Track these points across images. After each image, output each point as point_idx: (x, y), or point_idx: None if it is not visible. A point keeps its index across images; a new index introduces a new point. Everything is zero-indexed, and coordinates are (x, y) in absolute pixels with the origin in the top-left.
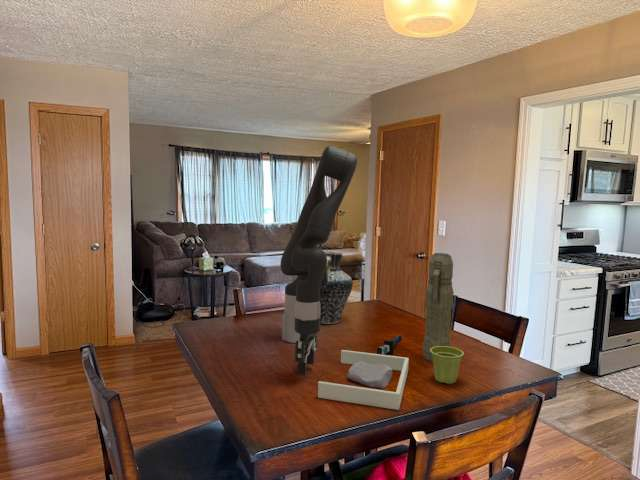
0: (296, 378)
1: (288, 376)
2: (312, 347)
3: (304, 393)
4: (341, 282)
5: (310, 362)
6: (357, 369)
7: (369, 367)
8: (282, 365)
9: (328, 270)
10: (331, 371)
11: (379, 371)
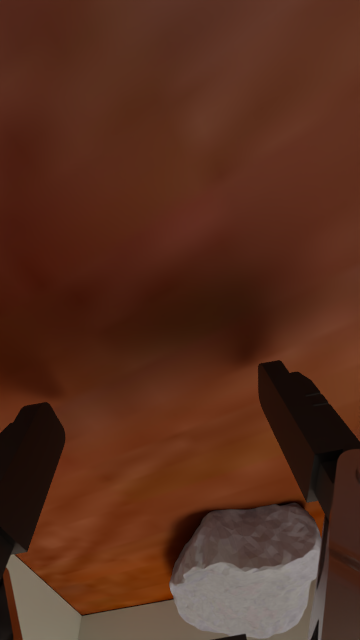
0: (56, 356)
1: (43, 294)
2: (311, 617)
3: None
4: None
5: (264, 395)
6: (227, 584)
7: (263, 599)
8: (245, 86)
9: None
10: (261, 446)
11: (226, 626)
